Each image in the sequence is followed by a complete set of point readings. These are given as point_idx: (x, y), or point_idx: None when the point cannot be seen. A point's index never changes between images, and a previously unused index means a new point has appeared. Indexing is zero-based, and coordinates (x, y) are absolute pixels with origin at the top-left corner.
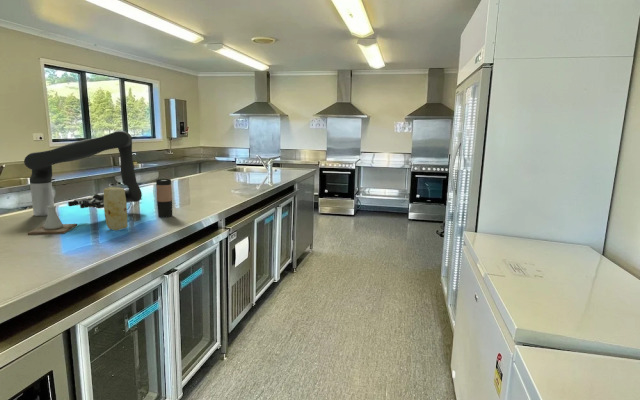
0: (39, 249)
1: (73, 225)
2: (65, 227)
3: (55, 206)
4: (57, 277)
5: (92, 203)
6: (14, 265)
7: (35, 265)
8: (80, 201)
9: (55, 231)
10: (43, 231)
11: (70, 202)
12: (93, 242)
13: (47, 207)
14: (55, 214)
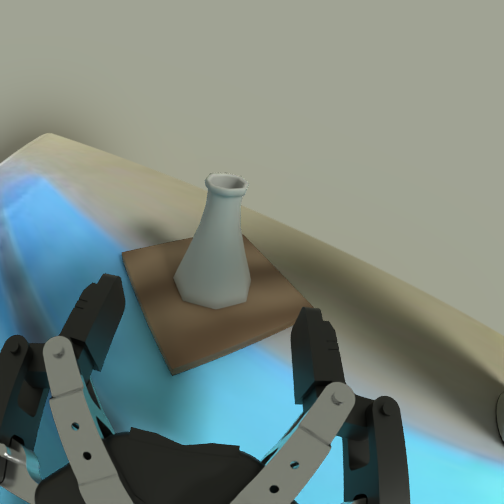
0: (95, 179)
1: (156, 332)
2: (164, 295)
3: (209, 183)
4: (24, 149)
5: (28, 343)
6: (88, 151)
7: (61, 154)
8: (360, 469)
9: (153, 247)
10: None
11: (304, 320)
12: (2, 218)
13: (233, 176)
14: (201, 222)
